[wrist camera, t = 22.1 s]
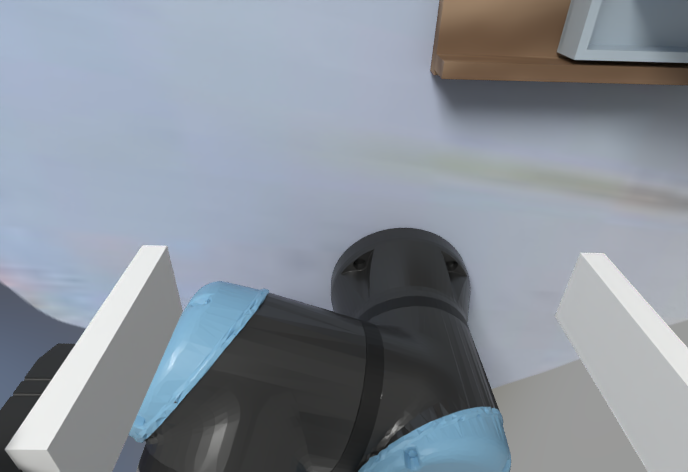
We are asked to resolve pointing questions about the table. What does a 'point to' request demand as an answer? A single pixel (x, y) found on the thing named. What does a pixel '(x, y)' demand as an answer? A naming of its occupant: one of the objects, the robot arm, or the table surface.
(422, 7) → the table surface
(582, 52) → the shallow square tray
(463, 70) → the bay
